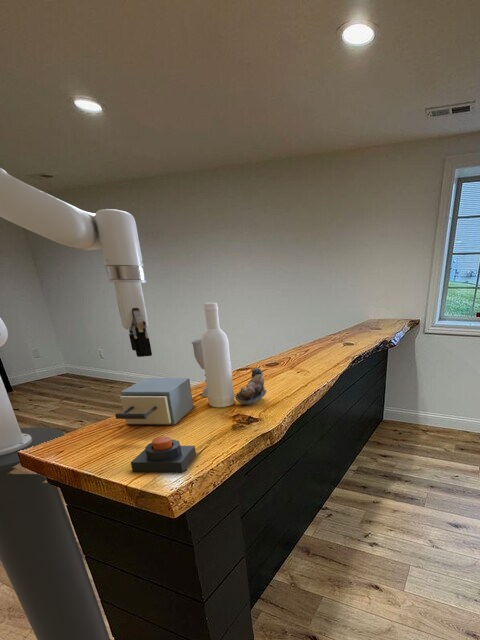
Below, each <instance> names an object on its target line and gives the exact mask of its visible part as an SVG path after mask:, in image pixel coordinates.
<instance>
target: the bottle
mask: <svg viewBox="0 0 480 640" xmlns="http://www.w3.org/2000/svg"><path fill="white" fill-rule="evenodd" d="M203 310H204V315H205V325H206V329H205V330H204V331H202V335H201V344H202V352H203V360H204V368H205V370H204V376H205V375H206V377H205V380H206V381H205V383H206V386H207V391H208V397H207V398H208V405H209V406H210V407H212V408H227V407H230V406H233V405H234V404H235V393H234V392H235V391H234V384H233V372H232V364H231V352H230V341H229V338H228V336H227V333H226V332H225V331H224V330H222V329H221V326H220V318H219V317H220V316H219V305H218V303H217V302H204V303H203Z"/></svg>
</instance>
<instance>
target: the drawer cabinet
mask: <svg viewBox="0 0 480 640" xmlns="http://www.w3.org/2000/svg"><path fill="white" fill-rule="evenodd" d="M191 387H192V386H191V381H190V378H189V377H145V378H144V379H142V380H140V381H137V382H136V383H134V384H133V385H130V386H129V387H127V388H125V389H123V390H121V391H120V397H121V396H128V395H167V399H168V405H169V411H170V416H171V423H170V424H150V425H153V426H155V425H156V426H157V425H164V426H165V425H167V426H168V425H169V426H171V425H173V426H174V425H176V424H177V423H179V421H181V419H183V418H184V417H185V416H186V415H188V413H189V412H190V411H191V410H192V409H194V401H193V394H192V388H191Z"/></svg>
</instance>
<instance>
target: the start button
mask: <svg viewBox="0 0 480 640" xmlns="http://www.w3.org/2000/svg"><path fill="white" fill-rule="evenodd" d="M171 440H172V438H171V437H170V436H167V435H164V436H163V435H162V436H158V437H155V438H153V439H152V440H151V443H152V444H153V449H154V450H165V449H168V448H171V447H172V441H171Z"/></svg>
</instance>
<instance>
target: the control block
mask: <svg viewBox="0 0 480 640" xmlns="http://www.w3.org/2000/svg"><path fill="white" fill-rule="evenodd" d="M171 441H172V447H171V448H168V449H165V450H154V449H153V444H152V442H150V443H148V444H147V445H146V446H145V447H144V449H143V450H142V451H141V452H140V453H139V454H138V455H137V456H135V458H134V459H132V461H130V467H131V470H132V472H133V473H183V472H184V471H185V470H186V468H187V467H188V466H189V465H190V463H191V462H192V460H193V459H194V458H195V457H196V455H197V452H196V445H181V444H180V441H179V440H176V439H171Z"/></svg>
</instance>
